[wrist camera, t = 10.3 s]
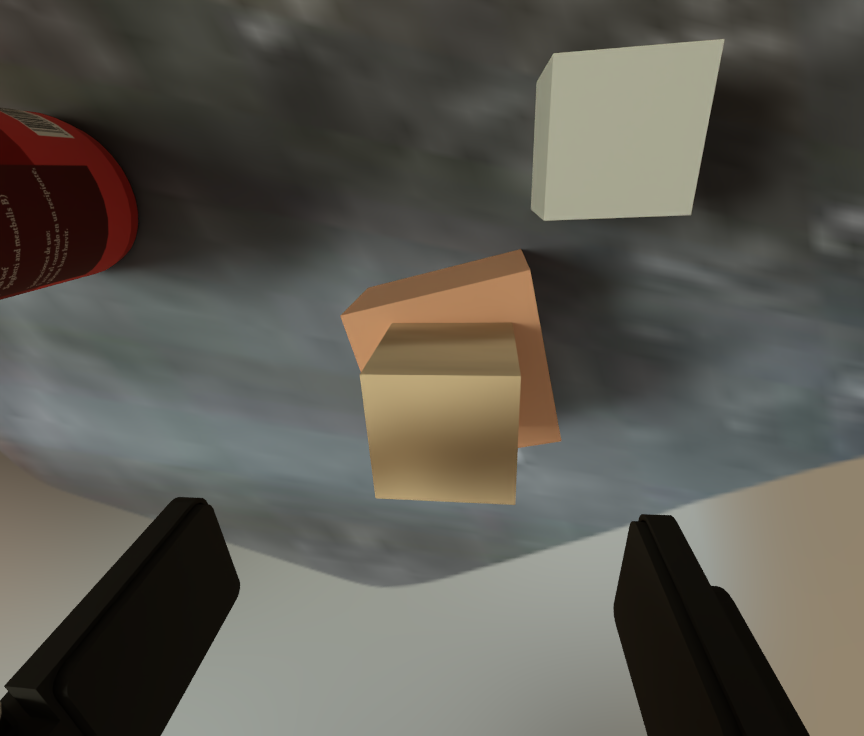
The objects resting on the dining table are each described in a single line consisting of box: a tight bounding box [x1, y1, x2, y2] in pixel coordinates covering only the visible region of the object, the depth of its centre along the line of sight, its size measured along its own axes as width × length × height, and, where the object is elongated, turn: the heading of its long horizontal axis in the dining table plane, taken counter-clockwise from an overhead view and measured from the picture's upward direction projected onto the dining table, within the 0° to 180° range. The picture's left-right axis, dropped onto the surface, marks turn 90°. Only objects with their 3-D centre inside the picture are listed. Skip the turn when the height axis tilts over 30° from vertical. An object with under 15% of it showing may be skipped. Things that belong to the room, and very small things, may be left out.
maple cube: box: [360, 323, 521, 505], centre depth 17 cm, size 5×5×5 cm
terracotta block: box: [341, 249, 561, 448], centre depth 21 cm, size 8×8×5 cm
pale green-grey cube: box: [531, 39, 724, 221], centre depth 16 cm, size 5×5×5 cm
